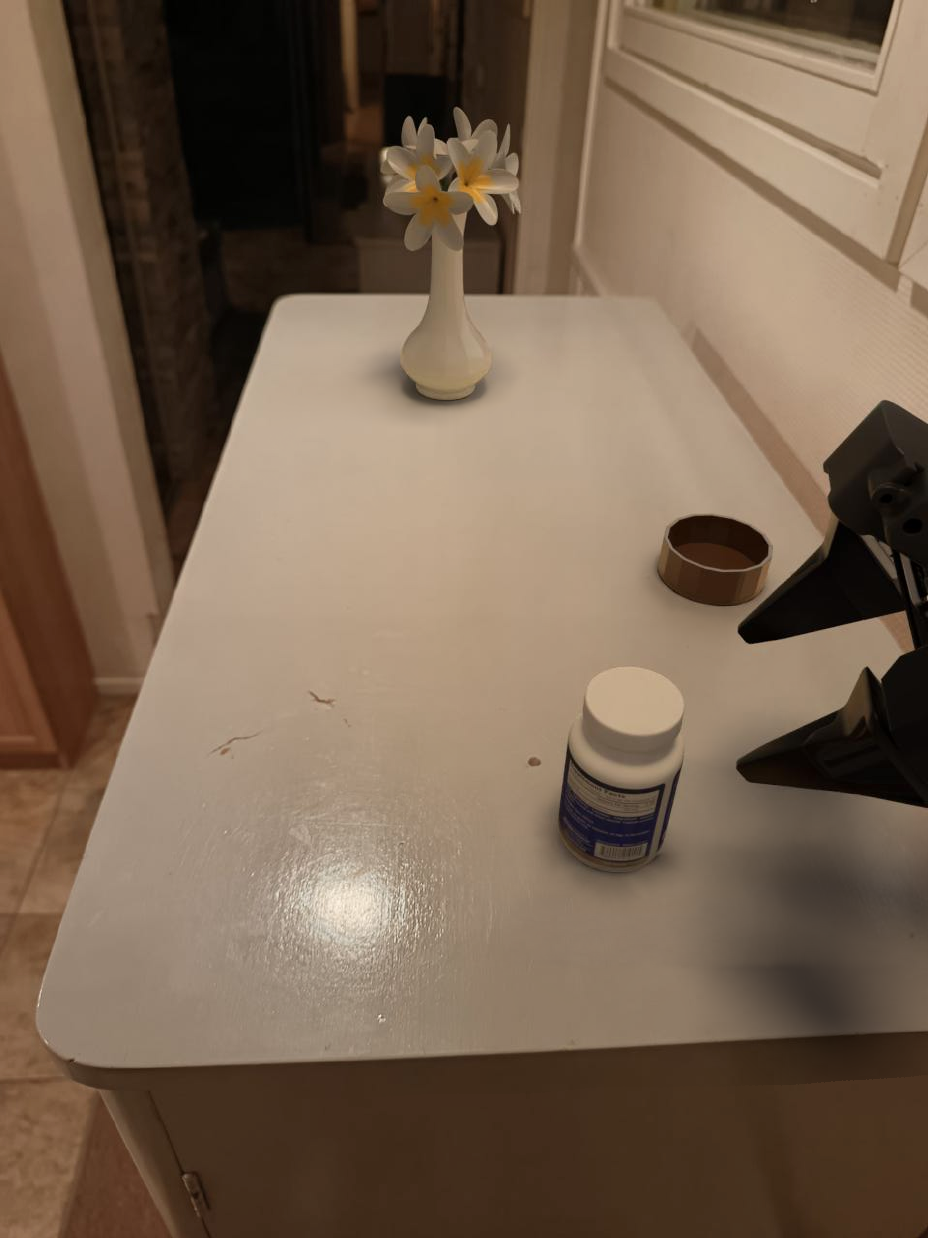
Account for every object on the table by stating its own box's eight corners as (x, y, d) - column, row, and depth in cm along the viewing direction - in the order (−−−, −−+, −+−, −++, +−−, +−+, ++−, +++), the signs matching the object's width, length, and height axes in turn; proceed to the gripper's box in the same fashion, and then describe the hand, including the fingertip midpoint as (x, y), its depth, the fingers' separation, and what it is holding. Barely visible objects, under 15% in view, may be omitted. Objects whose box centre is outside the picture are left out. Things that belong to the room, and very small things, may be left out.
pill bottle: (600, 775, 51) (624, 642, 44) (683, 833, 48) (721, 699, 41) (534, 830, 47) (549, 695, 41) (618, 897, 44) (649, 762, 38)
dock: (765, 556, 69) (774, 524, 67) (760, 614, 63) (770, 580, 61) (665, 538, 71) (671, 506, 69) (651, 593, 65) (658, 559, 63)
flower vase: (381, 430, 84) (371, 137, 69) (391, 355, 99) (384, 99, 83) (516, 432, 85) (537, 141, 69) (506, 357, 99) (521, 103, 83)
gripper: (970, 269, 36) (651, 471, 44) (1121, 495, 21) (607, 727, 30) (1091, 470, 39) (773, 620, 48) (1289, 779, 25) (785, 912, 34)
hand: (741, 698), depth 40 cm, fingers open, 9 cm apart
